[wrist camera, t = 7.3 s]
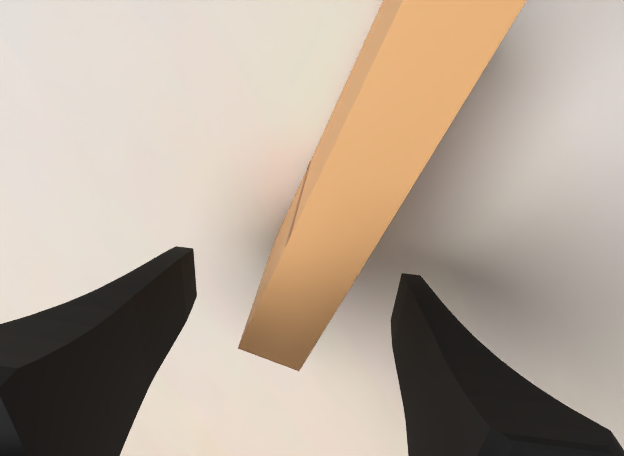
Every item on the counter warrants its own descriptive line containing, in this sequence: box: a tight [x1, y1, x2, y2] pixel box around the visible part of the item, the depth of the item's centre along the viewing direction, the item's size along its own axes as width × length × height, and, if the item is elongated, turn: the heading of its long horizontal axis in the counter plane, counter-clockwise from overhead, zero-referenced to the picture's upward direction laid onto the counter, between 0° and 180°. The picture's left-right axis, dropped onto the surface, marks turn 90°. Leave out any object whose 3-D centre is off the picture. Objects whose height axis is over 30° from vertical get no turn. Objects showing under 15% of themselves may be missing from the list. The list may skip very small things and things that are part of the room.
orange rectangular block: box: [238, 0, 526, 371], centre depth 12 cm, size 11×2×7 cm, turn 157°
